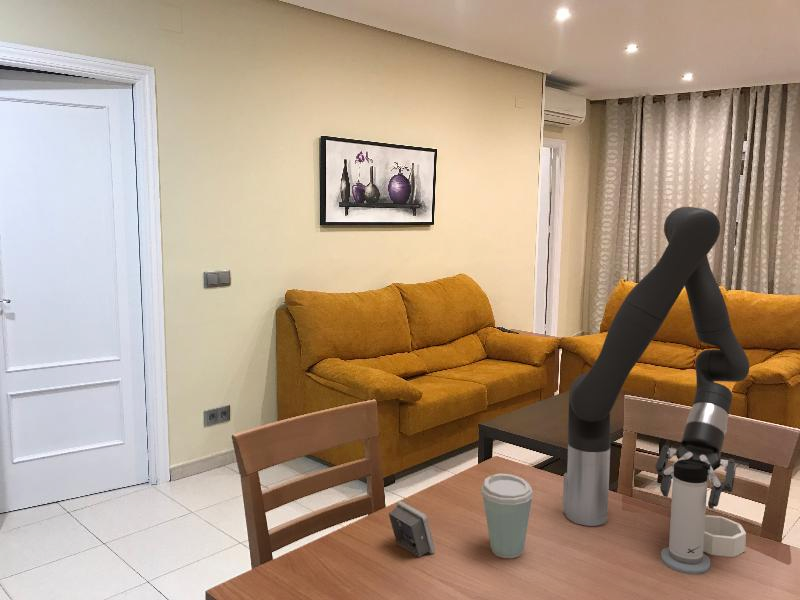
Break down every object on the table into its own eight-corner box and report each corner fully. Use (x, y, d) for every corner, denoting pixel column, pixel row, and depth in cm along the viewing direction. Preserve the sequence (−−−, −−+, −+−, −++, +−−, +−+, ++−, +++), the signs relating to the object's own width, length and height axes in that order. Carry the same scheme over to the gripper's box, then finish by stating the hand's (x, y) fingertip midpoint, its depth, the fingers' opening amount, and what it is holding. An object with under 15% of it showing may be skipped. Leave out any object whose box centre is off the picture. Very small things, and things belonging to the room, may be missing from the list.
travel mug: (698, 569, 124) (704, 470, 121) (664, 557, 128) (669, 461, 126) (708, 556, 128) (714, 460, 126) (674, 545, 133) (680, 452, 130)
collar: (679, 540, 137) (680, 522, 137) (708, 528, 142) (709, 511, 142) (724, 561, 129) (725, 542, 128) (753, 547, 134) (754, 529, 133)
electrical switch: (436, 553, 132) (433, 512, 130) (416, 564, 129) (413, 521, 127) (407, 536, 139) (404, 496, 137) (389, 545, 136) (385, 505, 134)
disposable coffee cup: (543, 553, 132) (545, 484, 130) (506, 571, 125) (508, 498, 123) (505, 533, 140) (506, 468, 138) (469, 549, 133) (470, 480, 132)
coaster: (651, 557, 130) (651, 553, 130) (679, 546, 135) (679, 541, 134) (691, 579, 122) (692, 574, 122) (719, 565, 127) (719, 561, 127)
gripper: (666, 414, 135) (646, 483, 128) (741, 427, 126) (724, 502, 119) (672, 431, 140) (653, 499, 133) (745, 446, 131) (729, 519, 124)
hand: (687, 500), depth 126 cm, fingers open, 8 cm apart
